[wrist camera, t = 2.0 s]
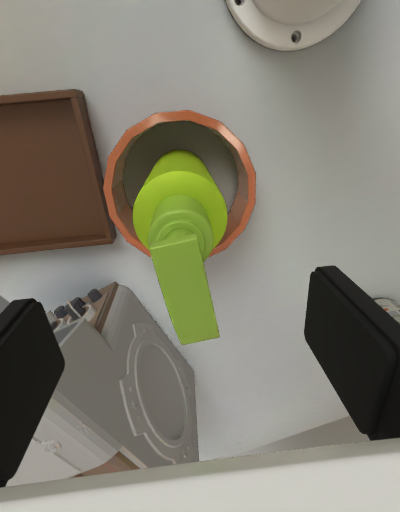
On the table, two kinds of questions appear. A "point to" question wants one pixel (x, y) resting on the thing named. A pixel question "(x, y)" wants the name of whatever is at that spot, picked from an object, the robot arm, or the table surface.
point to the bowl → (115, 167)
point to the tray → (50, 175)
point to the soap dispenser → (182, 238)
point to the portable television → (112, 394)
